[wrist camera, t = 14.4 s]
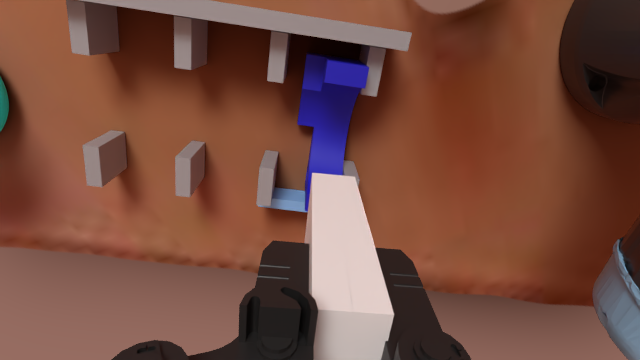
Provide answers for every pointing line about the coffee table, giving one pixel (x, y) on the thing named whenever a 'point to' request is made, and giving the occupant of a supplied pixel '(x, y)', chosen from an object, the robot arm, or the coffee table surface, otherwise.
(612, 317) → the robot arm
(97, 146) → the grey peg rack
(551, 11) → the coffee table surface
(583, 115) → the coffee table surface
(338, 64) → the blue curved block
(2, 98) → the donuts
